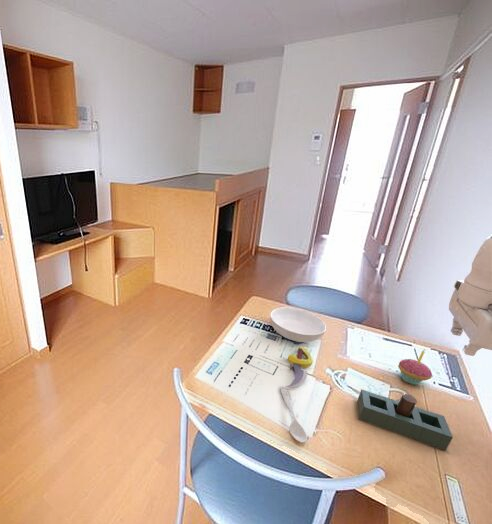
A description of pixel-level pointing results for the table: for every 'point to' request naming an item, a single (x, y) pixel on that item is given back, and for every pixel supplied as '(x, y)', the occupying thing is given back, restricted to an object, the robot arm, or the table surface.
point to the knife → (299, 365)
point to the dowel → (406, 405)
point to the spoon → (294, 420)
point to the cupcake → (414, 370)
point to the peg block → (404, 420)
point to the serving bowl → (297, 324)
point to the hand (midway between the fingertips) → (461, 343)
